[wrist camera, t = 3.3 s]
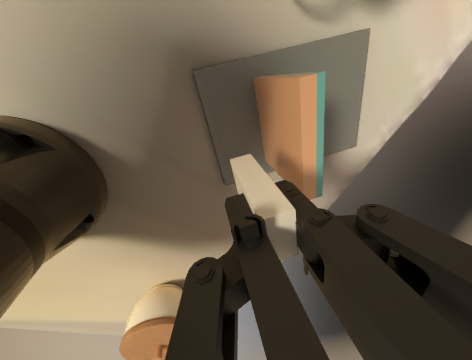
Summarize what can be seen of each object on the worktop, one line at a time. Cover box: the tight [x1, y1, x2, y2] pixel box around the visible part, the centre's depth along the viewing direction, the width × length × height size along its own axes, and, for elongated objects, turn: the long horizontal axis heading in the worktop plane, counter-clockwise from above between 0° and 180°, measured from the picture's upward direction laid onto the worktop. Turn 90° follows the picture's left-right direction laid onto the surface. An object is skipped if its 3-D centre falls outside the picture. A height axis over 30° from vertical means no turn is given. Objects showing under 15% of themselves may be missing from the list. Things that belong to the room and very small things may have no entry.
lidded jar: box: [119, 284, 183, 360], centre depth 31 cm, size 11×11×9 cm
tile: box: [253, 71, 326, 200], centre depth 19 cm, size 2×10×10 cm, turn 13°
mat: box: [193, 28, 370, 185], centre depth 24 cm, size 20×14×1 cm
